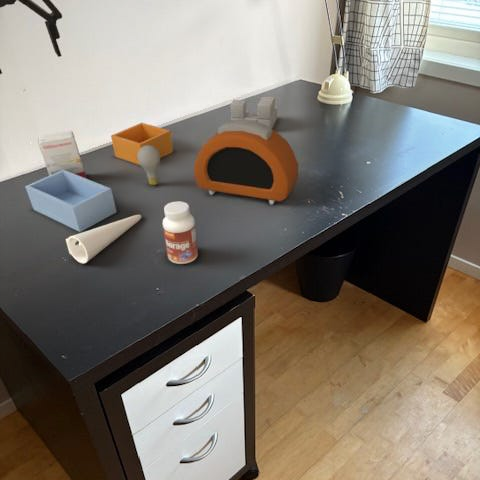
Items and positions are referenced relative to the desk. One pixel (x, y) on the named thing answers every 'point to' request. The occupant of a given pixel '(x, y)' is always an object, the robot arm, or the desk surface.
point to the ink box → (61, 153)
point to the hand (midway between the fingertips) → (29, 62)
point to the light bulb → (149, 162)
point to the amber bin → (141, 141)
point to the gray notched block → (264, 111)
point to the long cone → (98, 238)
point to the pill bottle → (179, 233)
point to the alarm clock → (247, 162)
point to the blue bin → (71, 199)
